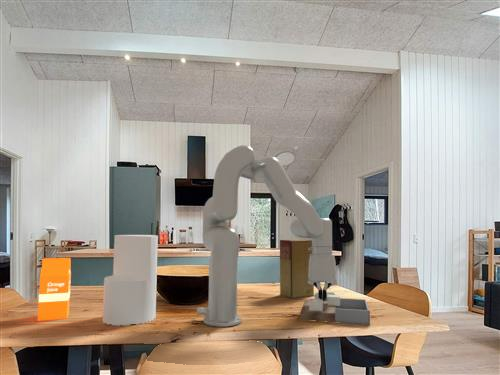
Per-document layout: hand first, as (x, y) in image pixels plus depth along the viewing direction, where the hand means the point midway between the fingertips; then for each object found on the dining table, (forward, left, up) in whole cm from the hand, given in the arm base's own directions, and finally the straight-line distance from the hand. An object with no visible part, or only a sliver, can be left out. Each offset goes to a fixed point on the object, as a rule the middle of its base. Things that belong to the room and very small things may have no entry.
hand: (322, 300), depth 139 cm
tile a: (+4, 0, -1) cm, 4 cm away
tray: (+10, -5, -4) cm, 12 cm away
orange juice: (-90, -32, -4) cm, 95 cm away
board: (-1, -5, -4) cm, 7 cm away
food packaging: (-13, +28, -4) cm, 31 cm away
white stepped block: (-64, -27, -4) cm, 69 cm away
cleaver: (+1, +22, -5) cm, 23 cm away
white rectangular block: (-2, -10, -1) cm, 10 cm away
